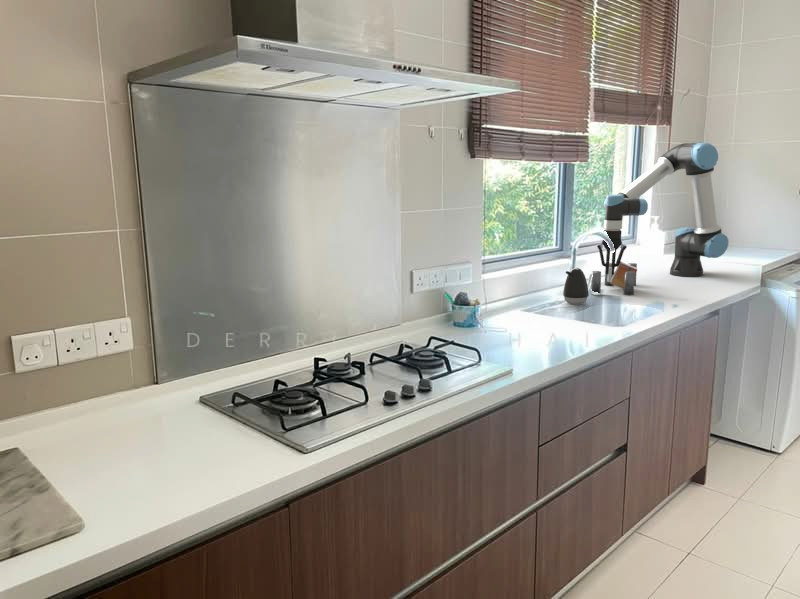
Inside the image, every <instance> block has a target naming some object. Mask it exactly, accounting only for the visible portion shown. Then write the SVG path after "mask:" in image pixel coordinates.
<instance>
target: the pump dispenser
mask: <svg viewBox="0 0 800 599" xmlns="http://www.w3.org/2000/svg"><path fill="white" fill-rule="evenodd" d="M565 274H566V275H567V276H566V279H565V282H564V285H563V286H564V287H563V291H562V292H563V294H562V295H563V298H564V300H565V302H566V303H567V304H568V305H570V306H581V305H583V304H585V303H586V302H587V300H588V298H589V295H590V294H589V286H588V282H587V281H588V280H587V278H586V274H585V273H584V272H583V270H582V269H581V268H579V267H573V268H571V269H570V271H568V270H566V271H565Z"/></svg>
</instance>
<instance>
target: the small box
mask: <svg viewBox="0 0 800 599" xmlns="http://www.w3.org/2000/svg"><path fill="white" fill-rule="evenodd" d="M625 271H634V272H635V274H636V275H637V273H636V272H638V267H637V268H636V267H633V266H631V265H628V263H625V262H624V261H623V262H622V260H621V261H620V264H619V266H617V267H615V269H614V275H613V276H612V278H611V282H610V283H611V284H613V286H616V287H618V288H620V289H622V290H624V283H625Z"/></svg>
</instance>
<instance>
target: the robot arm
mask: <svg viewBox="0 0 800 599" xmlns="http://www.w3.org/2000/svg"><path fill="white" fill-rule="evenodd" d="M718 160H719V153H718V150H717V148H716V147H715V146H714V145H713V144H712V143H710V142H703V141H702V142H700V141H699V142H689V143H687V142H685V143H684V142H683V143H681V144H677V145H676V146H673V147H672V148H670V149H669V150H668V151H666V152H665V153H663V154H662V155H661V156H660V157H659V158H658V159H657V161H656V163H654V164H653V165H652V166H650V167H649V168H648V169H647V170H645V172H643V173H641V175H639V176H638V177H637V178H635V179H634V180H633V181H632V182H631V183H629V185H627V186H626V187H624V188H623V189H622V190H621V191H619V192H618V193H616V194H608V195H606V198H605V199H604V201H603V209H604V210H605V211H604V226H603V229H604V230H603V232H604V231H606V232H607V234H608V236H609V238H610V239H611V241H612V242H613V244H614V248H615V252H614V253H611V250H610V248H609V247H608V245H607V243H606V242H605V241H604V240H603V239H602V241H601V242H600V243H598V244H596V247H597V249H598V252H599V257H600V262H601V265H602V266H603V267H606V271H605V270H604V274H605V273H606V274H608V278H607V281H608V282H611V275H614V272H615V269H616V268H617V266H619V264H620V261H621V262H622V258H623V256H624V253H625V251H626V249H627V245H626V244H624V243H623V241H622V229H623V218H624V217H627V216H630V217H631V216H633V217H634V216H638V217H639V216H643V215H645V214H647V211H648V210H649V207H648V206H649V205H648V204H649V203H648V201H647V200H646V199H645V198H640V197H641V196H643V195H644V194H645V193H646V192H648V191H649V190H650V189H651V188H652V187H654V186H655V185H656V184H658V183H659V182H660V181H662V179H664V178H665V177H667V175H672V174H673V173H676V172H677V171H679V170H685V176H687V177H688V178H689V179H690V187H691V193H692V200H693V201H692V202H693V208H694V215H695V224H696V227H683V228H678V229H677V230H676V232H675V237H674V238H675V239H674V240H675V241H674V243H675V244H674V258H673V262H672V264H671V267H670V268H669V274H670V273H671V274H670V275H672V276H677V277H687V278H689V277H690V278H691V277H693V278H694V277H700V276H703V275H704V268H703V265H702V264H703V263H702V260H701V257H705V258H709V259H710V258H711V259H716V258H720V257H721V256H723V255H724V254H726V253H725V252H726V251H727V250H728V247H729V243H730V242H729V238H728V236H727V235H726V234H724V233H722V226H721V225H719V224H718V222H717V215H716V213H717V212H716V207H715V206H716V205H715V198H714V190H713V182H712V180H713V179H712V174H713V172H714V171H715V168H714V167H715V166H717V162H718ZM603 247H604V248H605V250H606V256H605V258H604V253H603ZM619 247H620V250H619V253H618V255H617V250H618V249H619ZM616 255H617V259H616ZM610 258H611V259H610ZM610 260H611V263H612V264H611V267H609V263H610Z"/></svg>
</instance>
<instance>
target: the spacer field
mask: <svg viewBox="0 0 800 599" xmlns="http://www.w3.org/2000/svg"><path fill="white" fill-rule="evenodd" d="M611 264H612V262H609V267H611ZM627 264H628V265H631V266H633V267H636V268H637V269H638V264H637V263H635V262H631V263H628V262H627ZM604 267H605V266H604ZM605 271H606V267H605V268H604V286H607V287H611V286H614V285H613V284H611V283H610V282H608V281H607V278H608V274H606V273H605ZM637 272H638V271H637ZM637 272H636V274H635V272H634V271H625V283H624V289H623V291H624V292H623V294H624V295H625V296H634V294H635V292H634V291H635V286H637V274H638V273H637ZM591 275H593V277H592V280H591V281H590V283H591V284H590V290H591V289H592V291H594V292H598V293H600V294H601V290H602V289H601V288H602V286H601V285H602V282H601V280H602V271H600V270H593V271H591ZM612 276H613V275H611V278H612Z"/></svg>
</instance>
